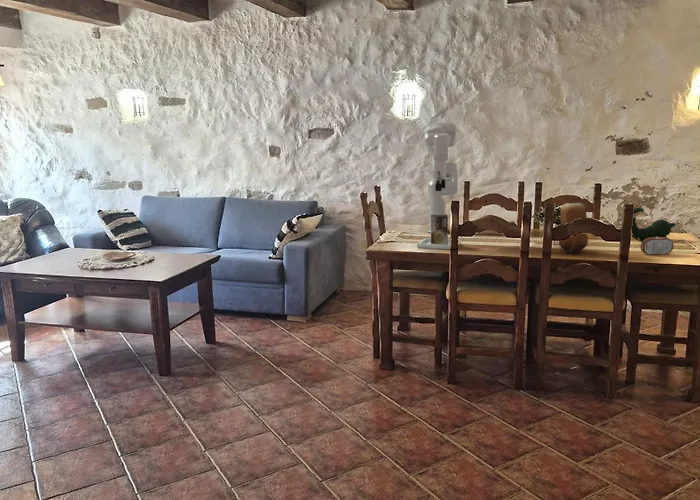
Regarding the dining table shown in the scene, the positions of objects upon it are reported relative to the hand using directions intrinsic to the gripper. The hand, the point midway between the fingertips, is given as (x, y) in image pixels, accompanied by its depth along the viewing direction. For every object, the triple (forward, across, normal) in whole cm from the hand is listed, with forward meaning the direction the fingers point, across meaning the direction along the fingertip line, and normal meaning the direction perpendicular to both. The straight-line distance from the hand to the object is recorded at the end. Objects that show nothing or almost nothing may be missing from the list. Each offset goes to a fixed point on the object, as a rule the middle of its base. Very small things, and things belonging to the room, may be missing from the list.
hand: (440, 189), depth 310 cm
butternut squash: (+28, +10, +69) cm, 75 cm away
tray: (+29, +10, +2) cm, 31 cm away
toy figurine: (+30, -32, +108) cm, 116 cm away
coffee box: (+29, +10, +2) cm, 30 cm away
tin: (+28, +4, +107) cm, 111 cm away
